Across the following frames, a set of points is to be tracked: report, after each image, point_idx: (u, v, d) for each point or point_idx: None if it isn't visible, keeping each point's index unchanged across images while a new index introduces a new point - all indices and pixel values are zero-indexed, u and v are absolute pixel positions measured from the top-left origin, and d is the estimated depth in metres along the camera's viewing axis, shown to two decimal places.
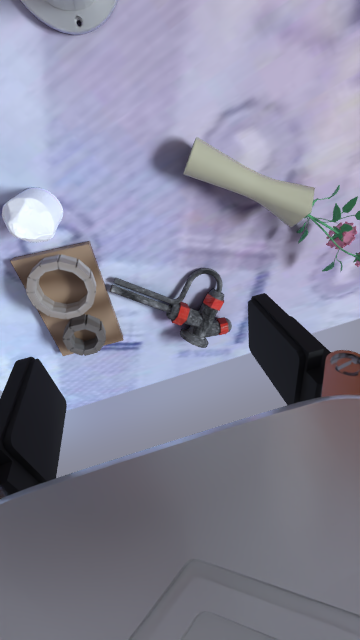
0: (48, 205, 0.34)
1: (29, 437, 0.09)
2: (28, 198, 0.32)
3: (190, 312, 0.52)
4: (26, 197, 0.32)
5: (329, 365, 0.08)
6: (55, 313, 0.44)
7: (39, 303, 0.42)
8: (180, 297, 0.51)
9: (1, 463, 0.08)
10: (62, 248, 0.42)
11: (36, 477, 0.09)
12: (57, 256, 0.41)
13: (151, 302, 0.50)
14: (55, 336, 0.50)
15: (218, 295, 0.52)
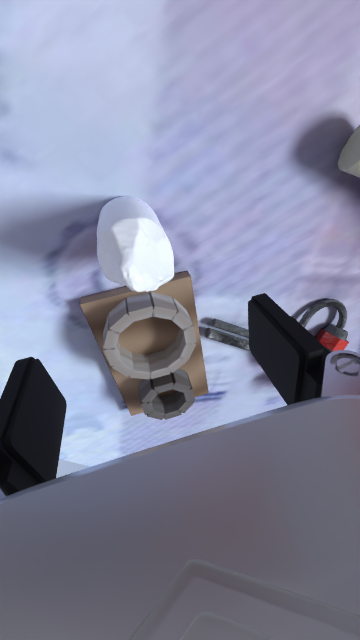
0: (160, 226, 0.21)
1: (29, 437, 0.09)
2: (141, 218, 0.19)
3: None
4: (137, 217, 0.19)
5: (329, 365, 0.08)
6: (137, 373, 0.31)
7: (118, 362, 0.29)
8: None
9: (1, 463, 0.08)
10: None
11: (36, 477, 0.09)
12: (147, 296, 0.28)
13: None
14: (125, 394, 0.37)
15: (342, 334, 0.38)
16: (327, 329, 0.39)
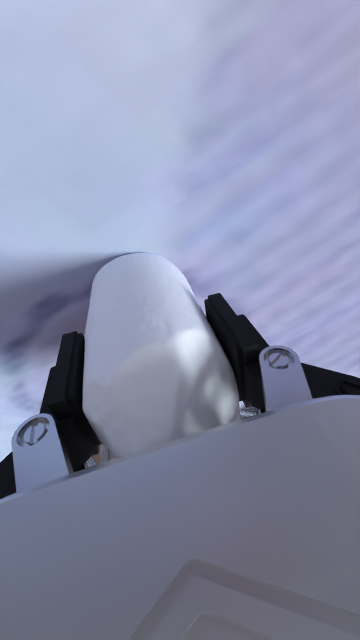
0: (208, 324, 0.11)
1: None
2: (179, 336, 0.08)
3: None
4: (171, 332, 0.08)
5: (261, 359, 0.09)
6: None
7: None
8: None
9: (63, 418, 0.09)
10: None
11: (89, 434, 0.10)
12: None
13: None
14: None
15: None
16: None
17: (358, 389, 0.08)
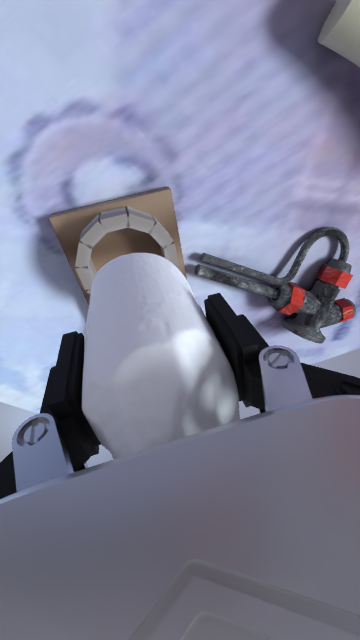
0: (208, 324, 0.11)
1: None
2: (178, 336, 0.08)
3: (303, 295, 0.36)
4: (170, 332, 0.08)
5: (261, 359, 0.09)
6: None
7: None
8: (291, 274, 0.35)
9: (63, 418, 0.09)
10: (128, 197, 0.26)
11: (89, 434, 0.09)
12: (123, 208, 0.26)
13: (252, 285, 0.34)
14: None
15: (345, 266, 0.35)
16: (328, 264, 0.37)
17: (358, 389, 0.08)
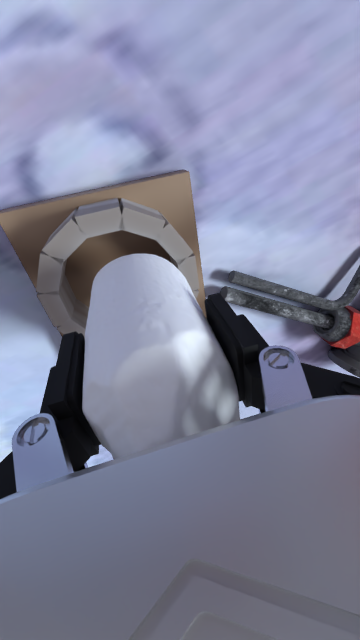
0: (208, 325, 0.11)
1: None
2: (179, 338, 0.08)
3: None
4: (171, 333, 0.08)
5: (261, 359, 0.09)
6: None
7: (68, 320, 0.17)
8: (349, 295, 0.26)
9: (63, 418, 0.09)
10: (123, 184, 0.17)
11: (89, 434, 0.09)
12: (114, 200, 0.16)
13: (297, 312, 0.25)
14: None
15: None
16: None
17: (358, 389, 0.08)
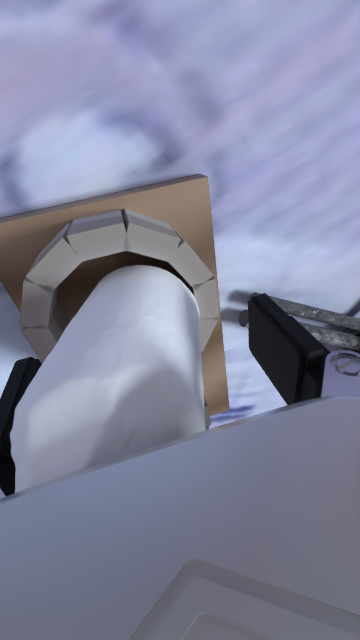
0: (188, 358, 0.09)
1: None
2: (126, 372, 0.07)
3: None
4: (118, 365, 0.07)
5: (329, 365, 0.08)
6: None
7: None
8: None
9: (1, 463, 0.08)
10: (127, 192, 0.14)
11: None
12: (117, 212, 0.13)
13: (327, 335, 0.22)
14: None
15: None
16: None
17: None
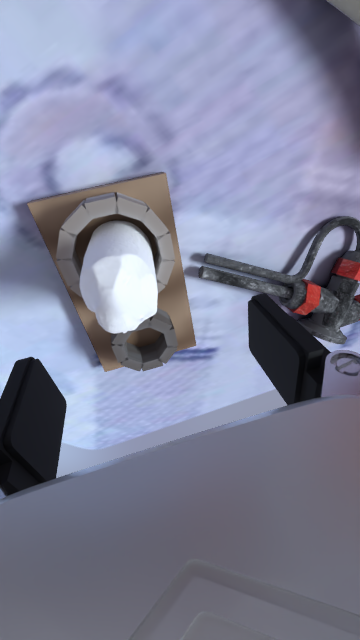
0: (148, 258, 0.21)
1: (29, 437, 0.09)
2: (124, 255, 0.18)
3: (319, 292, 0.33)
4: (121, 253, 0.18)
5: (329, 365, 0.08)
6: None
7: (78, 281, 0.24)
8: (304, 270, 0.32)
9: (1, 463, 0.08)
10: (118, 182, 0.23)
11: (36, 477, 0.09)
12: (111, 193, 0.23)
13: (262, 285, 0.31)
14: (95, 341, 0.31)
15: None
16: (344, 256, 0.33)
17: None
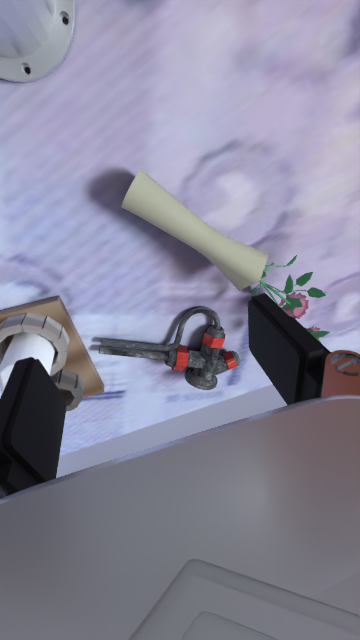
0: (41, 356, 0.35)
1: (29, 437, 0.09)
2: None
3: (189, 355, 0.48)
4: None
5: (329, 365, 0.08)
6: None
7: None
8: (175, 342, 0.47)
9: (1, 463, 0.08)
10: (28, 306, 0.38)
11: (36, 477, 0.09)
12: (22, 316, 0.37)
13: (145, 354, 0.46)
14: None
15: (217, 333, 0.46)
16: (207, 330, 0.48)
17: None
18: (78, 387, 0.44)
